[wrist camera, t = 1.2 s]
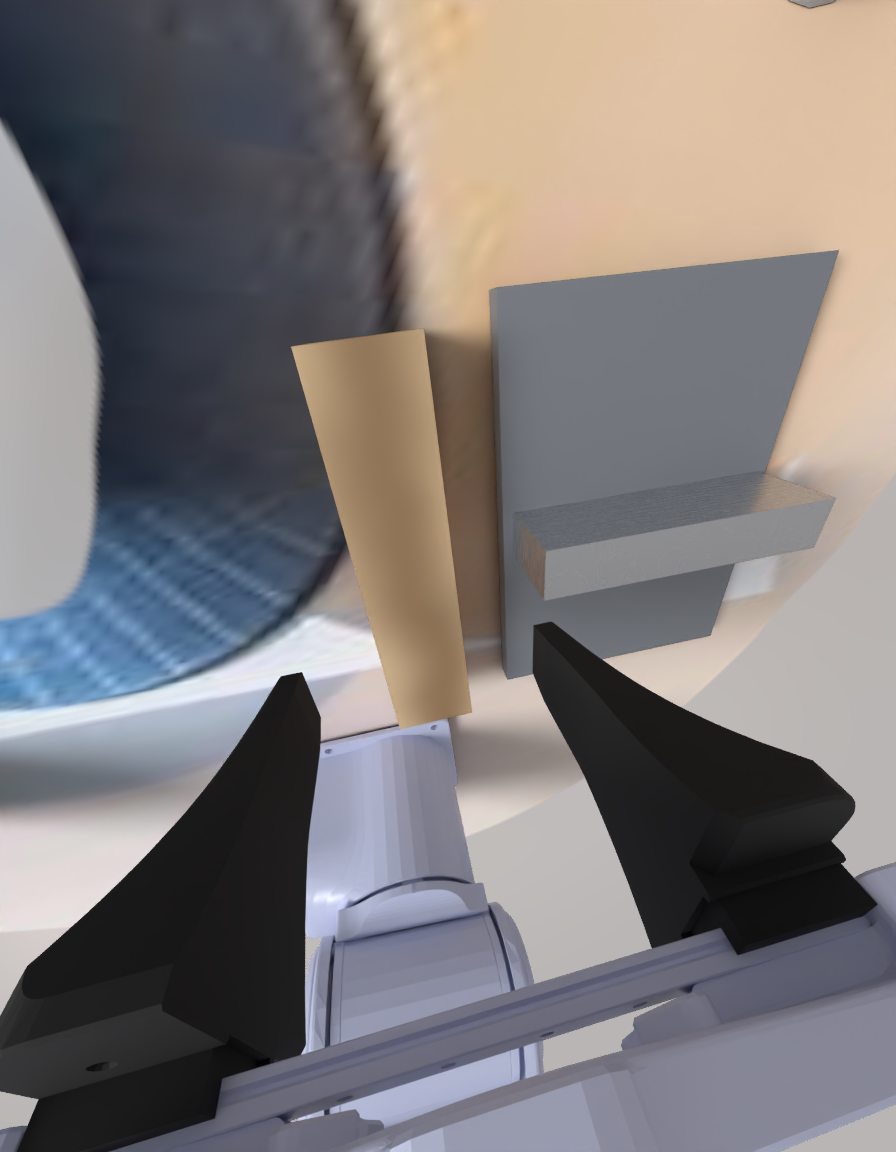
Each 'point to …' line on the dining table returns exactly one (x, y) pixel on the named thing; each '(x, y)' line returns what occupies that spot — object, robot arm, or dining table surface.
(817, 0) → the chalice
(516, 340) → the slate base plate
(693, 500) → the steel ridge
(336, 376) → the oak bar
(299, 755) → the robot arm
